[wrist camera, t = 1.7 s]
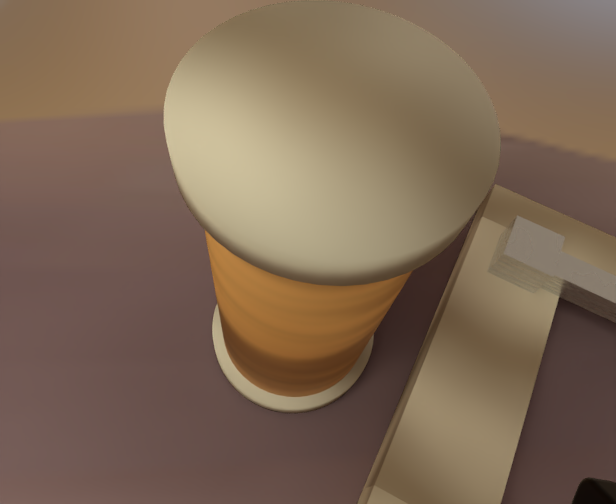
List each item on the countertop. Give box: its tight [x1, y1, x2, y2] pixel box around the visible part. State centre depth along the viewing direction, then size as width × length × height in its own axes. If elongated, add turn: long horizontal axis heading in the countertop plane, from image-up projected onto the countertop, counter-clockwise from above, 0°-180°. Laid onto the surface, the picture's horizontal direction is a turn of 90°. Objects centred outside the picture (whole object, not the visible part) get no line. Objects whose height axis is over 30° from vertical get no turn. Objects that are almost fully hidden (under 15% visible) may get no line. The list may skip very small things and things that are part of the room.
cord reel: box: [164, 0, 501, 413], centre depth 16 cm, size 6×6×13 cm
